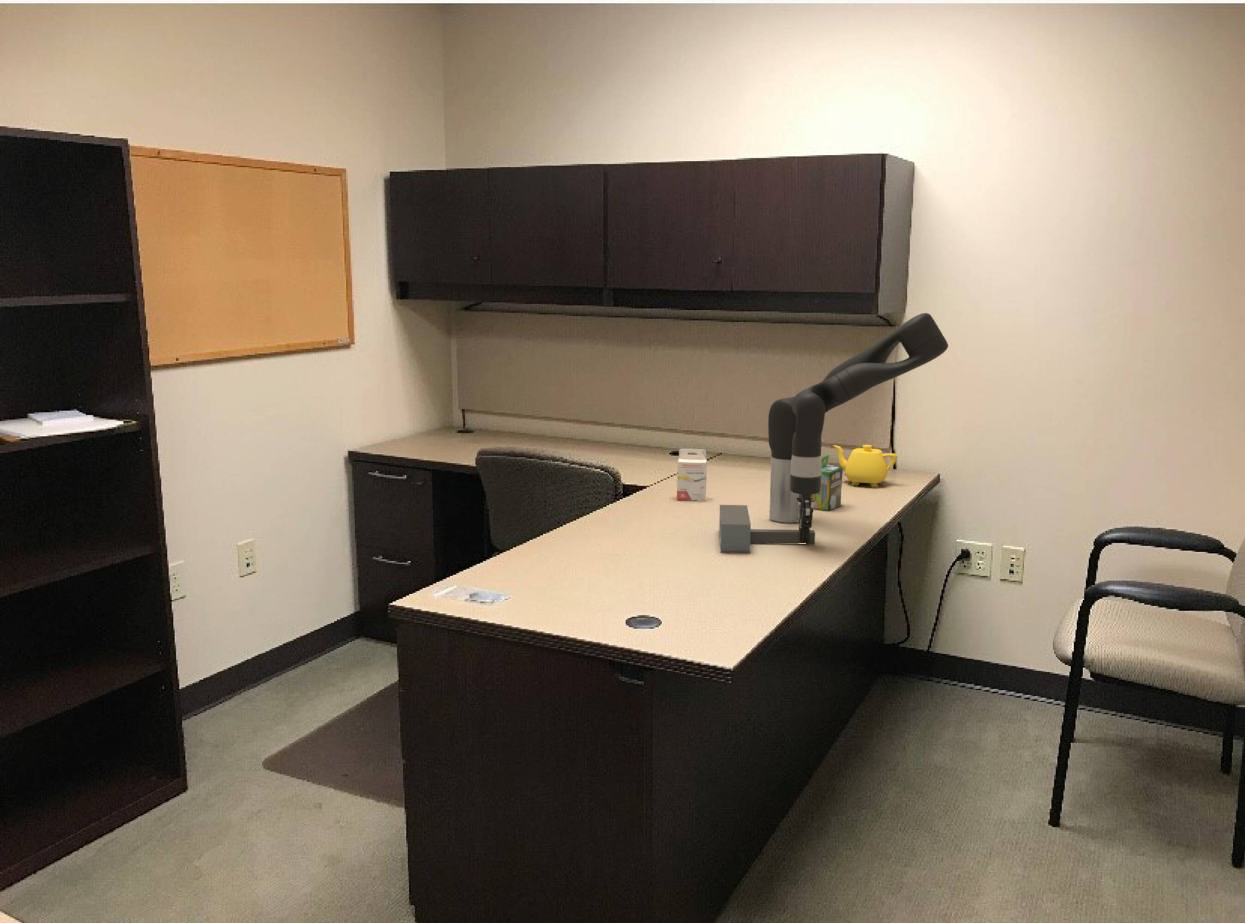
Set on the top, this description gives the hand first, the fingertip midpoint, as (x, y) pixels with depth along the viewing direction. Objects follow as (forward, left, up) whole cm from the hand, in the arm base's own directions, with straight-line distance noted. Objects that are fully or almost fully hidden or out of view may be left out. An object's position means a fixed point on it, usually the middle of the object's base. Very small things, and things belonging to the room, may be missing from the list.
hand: (803, 540), depth 254 cm
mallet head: (+17, 0, -1) cm, 17 cm away
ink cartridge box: (+28, -46, -1) cm, 54 cm away
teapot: (-26, -72, -1) cm, 76 cm away
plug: (+7, 0, -1) cm, 7 cm away
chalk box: (-9, -40, -1) cm, 41 cm away
